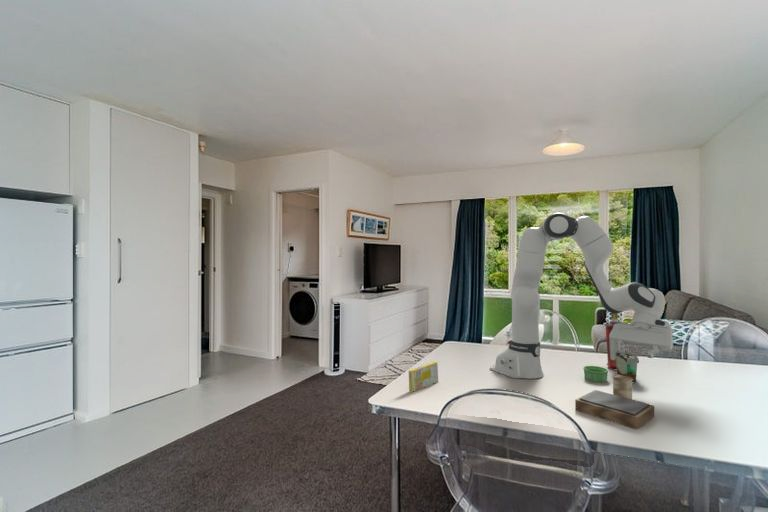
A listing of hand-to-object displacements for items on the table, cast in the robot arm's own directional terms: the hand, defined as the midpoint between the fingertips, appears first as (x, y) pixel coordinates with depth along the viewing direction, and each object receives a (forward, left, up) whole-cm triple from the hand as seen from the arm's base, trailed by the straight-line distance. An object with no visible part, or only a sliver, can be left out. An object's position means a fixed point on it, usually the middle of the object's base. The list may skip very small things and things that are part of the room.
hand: (635, 354), depth 141 cm
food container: (-7, +14, -14) cm, 21 cm away
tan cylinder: (0, -12, -14) cm, 18 cm away
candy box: (-54, -57, -14) cm, 80 cm away
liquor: (-17, +26, -14) cm, 34 cm away
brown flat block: (+3, -27, -14) cm, 30 cm away
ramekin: (-16, +4, -14) cm, 22 cm away
